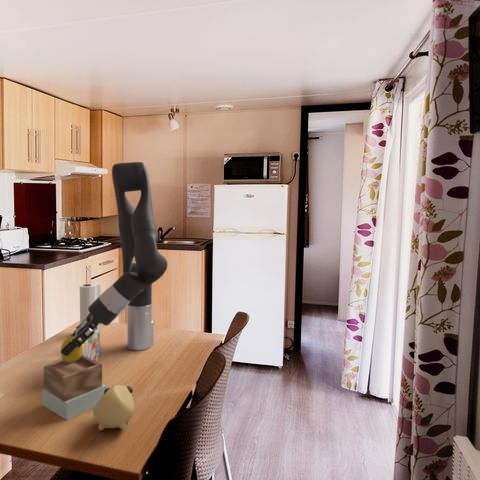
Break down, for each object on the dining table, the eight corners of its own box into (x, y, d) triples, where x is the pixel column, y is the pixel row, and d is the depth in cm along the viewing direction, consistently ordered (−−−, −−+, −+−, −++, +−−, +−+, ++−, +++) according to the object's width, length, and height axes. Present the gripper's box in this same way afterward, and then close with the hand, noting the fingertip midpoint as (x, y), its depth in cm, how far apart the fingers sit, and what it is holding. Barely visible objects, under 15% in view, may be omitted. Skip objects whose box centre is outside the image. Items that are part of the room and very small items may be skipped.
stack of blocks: (82, 356, 139) (82, 323, 137) (100, 356, 139) (100, 323, 138) (62, 384, 118) (61, 346, 116) (83, 383, 118) (82, 345, 117)
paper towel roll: (77, 336, 158) (76, 286, 156) (85, 331, 164) (84, 283, 162) (93, 337, 157) (92, 287, 155) (100, 332, 163) (100, 284, 161)
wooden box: (81, 374, 114) (81, 354, 113) (102, 386, 107) (101, 364, 107) (44, 388, 105) (43, 365, 105) (64, 401, 99) (63, 378, 98)
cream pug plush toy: (138, 411, 104) (138, 373, 103) (130, 438, 92) (130, 396, 91) (101, 412, 103) (101, 374, 102) (88, 439, 91) (88, 397, 90)
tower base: (81, 389, 115) (81, 373, 115) (106, 402, 108) (106, 385, 108) (42, 406, 105) (42, 389, 105) (67, 421, 99) (66, 403, 98)
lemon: (61, 369, 101) (61, 340, 101) (61, 361, 106) (60, 333, 106) (83, 365, 104) (83, 337, 103) (82, 358, 109) (81, 331, 108)
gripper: (100, 290, 112) (57, 332, 110) (98, 302, 99) (49, 351, 96) (119, 306, 114) (77, 348, 112) (120, 320, 101) (72, 368, 98)
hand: (65, 349), depth 104 cm, fingers closed on lemon, 5 cm apart
